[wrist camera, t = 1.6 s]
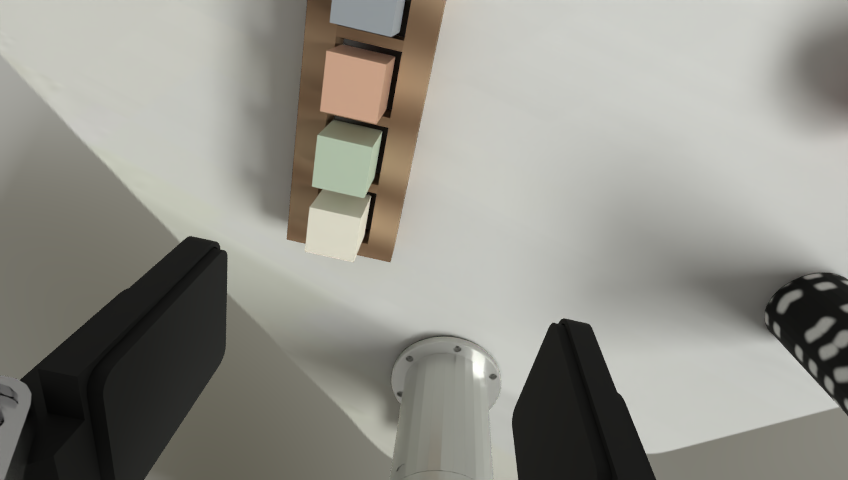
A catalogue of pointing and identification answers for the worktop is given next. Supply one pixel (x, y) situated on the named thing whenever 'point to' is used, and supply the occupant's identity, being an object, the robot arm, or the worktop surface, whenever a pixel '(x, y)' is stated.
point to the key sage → (346, 158)
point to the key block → (399, 121)
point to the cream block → (337, 225)
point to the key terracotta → (356, 83)
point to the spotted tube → (815, 329)
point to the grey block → (369, 15)
